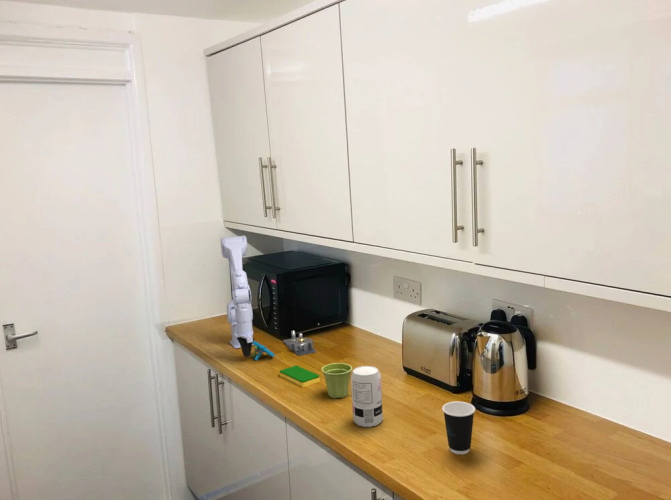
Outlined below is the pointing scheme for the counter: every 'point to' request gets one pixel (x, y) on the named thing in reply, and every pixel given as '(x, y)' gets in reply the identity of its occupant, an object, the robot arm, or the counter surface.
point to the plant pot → (337, 379)
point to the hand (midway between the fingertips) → (246, 356)
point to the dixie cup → (459, 425)
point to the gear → (261, 350)
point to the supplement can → (366, 396)
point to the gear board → (300, 344)
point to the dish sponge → (299, 376)
